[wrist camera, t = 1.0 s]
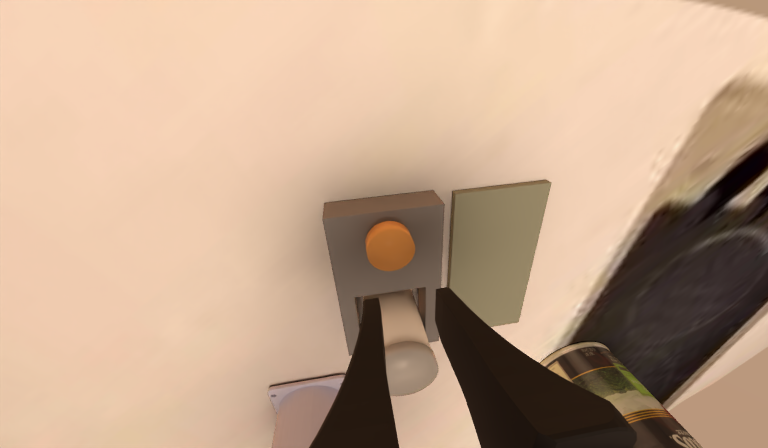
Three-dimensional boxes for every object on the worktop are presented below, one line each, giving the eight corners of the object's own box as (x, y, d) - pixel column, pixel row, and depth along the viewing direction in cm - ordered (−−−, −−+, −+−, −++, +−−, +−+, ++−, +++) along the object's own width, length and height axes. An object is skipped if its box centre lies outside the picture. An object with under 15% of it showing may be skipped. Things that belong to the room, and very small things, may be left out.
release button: (404, 238, 21) (415, 267, 18) (364, 243, 21) (369, 274, 18) (403, 202, 20) (414, 227, 17) (360, 207, 19) (364, 233, 16)
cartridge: (413, 310, 26) (437, 389, 20) (364, 318, 26) (373, 401, 19) (412, 272, 24) (439, 346, 18) (359, 280, 24) (366, 358, 17)
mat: (515, 317, 29) (518, 322, 28) (444, 329, 28) (446, 334, 28) (546, 180, 22) (551, 182, 21) (452, 191, 21) (455, 194, 20)
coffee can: (588, 327, 32) (747, 490, 19) (620, 361, 36) (766, 511, 24) (514, 376, 34) (612, 547, 22) (552, 402, 39) (652, 556, 26)
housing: (430, 319, 27) (438, 340, 25) (348, 332, 26) (349, 355, 24) (433, 190, 21) (444, 204, 19) (324, 203, 20) (322, 218, 18)
